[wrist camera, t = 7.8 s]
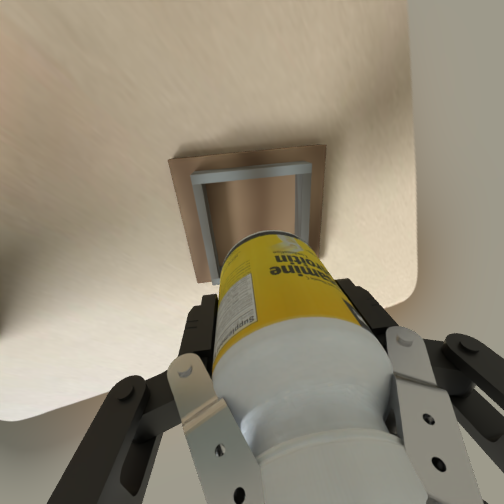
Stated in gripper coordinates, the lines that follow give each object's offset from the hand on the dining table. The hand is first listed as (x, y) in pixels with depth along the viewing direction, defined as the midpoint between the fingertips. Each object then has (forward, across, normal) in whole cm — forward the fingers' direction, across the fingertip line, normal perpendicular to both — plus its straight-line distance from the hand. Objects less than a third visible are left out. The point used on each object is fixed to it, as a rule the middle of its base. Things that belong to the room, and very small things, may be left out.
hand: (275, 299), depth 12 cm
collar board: (+14, 0, 0) cm, 14 cm away
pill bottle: (+3, 0, 0) cm, 3 cm away
